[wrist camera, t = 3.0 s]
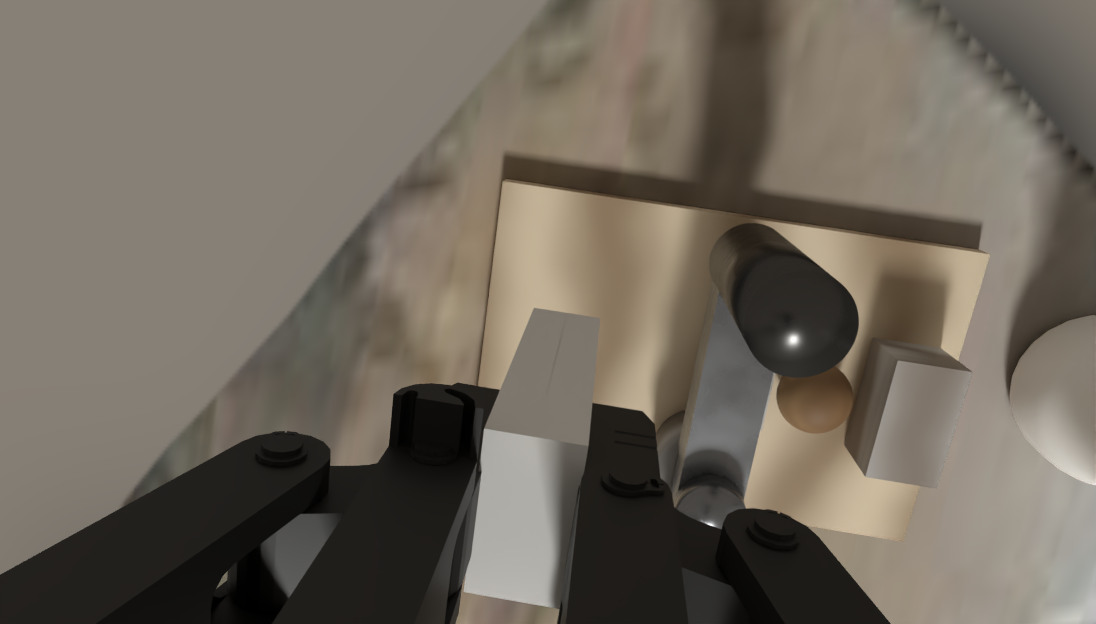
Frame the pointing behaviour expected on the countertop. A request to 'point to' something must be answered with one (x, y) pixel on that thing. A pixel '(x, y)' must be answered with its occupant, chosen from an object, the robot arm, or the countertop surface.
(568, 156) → the countertop surface
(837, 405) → the brown ball
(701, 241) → the board
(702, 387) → the lever
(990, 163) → the countertop surface
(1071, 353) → the bottle
